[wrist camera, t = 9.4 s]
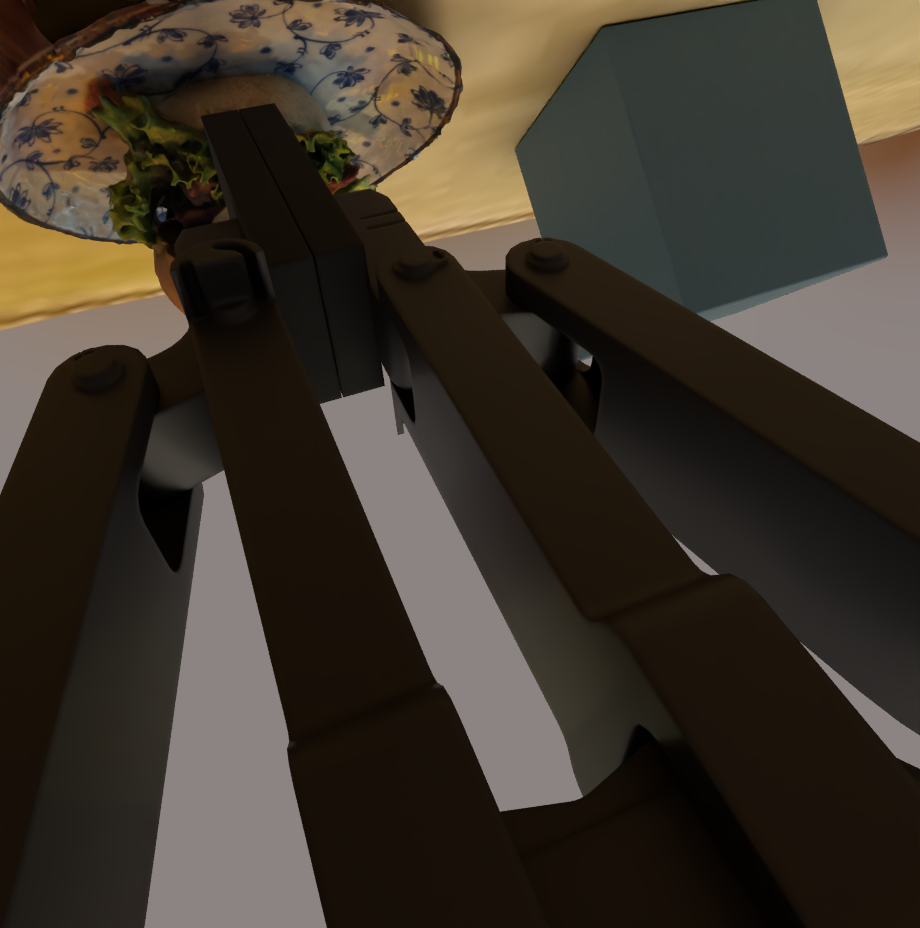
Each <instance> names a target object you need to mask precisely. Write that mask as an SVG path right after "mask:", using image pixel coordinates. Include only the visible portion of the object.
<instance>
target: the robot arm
mask: <svg viewBox="0 0 920 928" xmlns="http://www.w3.org/2000/svg"><path fill="white" fill-rule="evenodd" d="M239 113H240V114H239ZM201 120H202V123H203V127H204V130H205V134H206V137H207V141H208V144H209V148H210V151H211V155H212V158H213V162H214V165H215V169H216V172H217V176H218V179H219V183H220V186H221V190H222V193H223V197H224V200H225V203H226V207H227V210H228V214H229V217H230V220H226V221H222V222H217V223H212V224H207V225H202V226H198V227H193V228H188V229H183V230H182V231H181V233H180V235H179V237H178V238H177V240H176V242H175V244H174V248H175V252H176V256H177V257H176V258H175V259H174V260H173V261H172V262H171V266H170V275H171V277H172V280H173V283H174V285H175V288H176V291H177V294H178V296H179V299H180V302H181V304H182V307H183V310H184V312H185V315H186V317H187V320H188V323H189V329H188V331H187V333H186V334H185V335H184V336H183V337H182V338H181V339H180V340H179V341H178V342H177V343H175V344H174V345H173V346H171V347H170V348H168V349H166V350H164V351H162V352H161V353H159V354H157V355H155V356H152V357H150V358H148V359H147V358H146V357H145V356H144V355H143V354H142V353H141V352H140V351H139V350H138V349H135V348H132V347H129V346H125V345H105V346H101V347H96V348H90V349H87V350H84V351H82V352H81V353H80V352H79V353H77V354H75V355H73V356H71V357H70V358H68V359H67V360H66V361H64V362H63V363H62V364H60V365H59V366H58V367H56V368H55V370H54V371H53V373H52V374H51V375H50V377H49V378H48V380H47V382H46V384H45V387H44V389H43V392H42V394H41V397H40V399H39V402H38V404H37V406H36V409H35V411H34V414H33V416H32V419H31V421H30V424H29V426H28V428H27V431H26V433H25V436H24V438H23V441H22V443H21V446H20V448H19V450H18V453H17V455H16V458H15V460H14V463H13V465H12V467H11V470H10V472H9V475H8V477H7V480H6V482H5V485H4V487H3V489H2V492H1V494H0V928H144V926H145V919H146V911H147V904H148V897H149V890H150V882H151V875H152V868H153V860H154V853H155V846H156V839H157V831H158V824H159V817H160V809H161V803H162V795H163V788H164V781H165V774H166V766H167V759H168V752H169V745H170V738H171V730H172V723H173V716H174V708H175V701H176V694H177V686H178V679H179V672H180V665H181V658H182V650H183V643H184V636H185V628H186V621H187V614H188V606H189V600H190V592H191V585H192V578H193V571H194V563H195V556H196V549H197V541H198V534H199V527H200V519H201V513H202V505H203V498H204V492H203V485H202V482H203V481H205V480H207V479H208V478H210V477H212V476H214V475H216V474H217V473H219V472H221V471H223V470H224V471H225V475H226V479H227V483H228V487H229V491H230V495H231V499H232V504H233V507H234V512H235V515H236V520H237V524H238V528H239V532H240V536H241V540H242V544H243V548H244V553H245V557H246V560H247V565H248V569H249V573H250V577H251V581H252V585H253V589H254V593H255V597H256V602H257V606H258V610H259V614H260V618H261V622H262V626H263V630H264V634H265V638H266V643H267V647H268V651H269V655H270V659H271V663H272V667H273V671H274V675H275V679H276V683H277V687H278V692H279V695H280V700H281V704H282V708H283V712H284V716H285V720H286V725H287V730H288V735H289V744H288V748H287V752H288V760H289V767H290V772H291V777H292V781H293V786H294V791H295V795H296V799H297V803H298V808H299V812H300V816H301V820H302V824H303V829H304V833H305V837H306V841H307V846H308V850H309V854H310V858H311V863H312V866H313V871H314V875H315V879H316V884H317V888H318V892H319V896H320V901H321V905H322V909H323V913H324V917H325V921H326V925H327V928H920V769H919V768H917V767H914V766H912V765H910V764H908V763H906V762H904V761H902V760H900V759H898V758H896V757H895V756H894V754H893V753H892V752H891V751H890V750H889V748H888V747H887V746H886V745H885V744H884V742H883V741H882V740H881V739H880V738H879V736H878V735H877V734H876V733H875V732H874V731H873V729H872V728H871V727H870V726H869V724H868V723H867V722H866V721H865V720H864V718H863V717H862V716H861V715H860V714H859V713H858V711H857V710H856V709H855V708H854V706H853V705H852V704H851V703H850V702H849V700H848V699H847V698H846V697H845V696H844V694H843V693H842V692H841V691H840V690H839V689H838V687H837V686H836V685H835V684H834V682H833V681H832V680H831V679H830V678H829V677H828V675H827V674H826V673H825V672H824V670H823V669H822V668H821V667H820V666H819V664H818V663H817V662H816V661H815V660H814V658H813V657H812V656H811V655H810V654H809V652H808V651H807V650H806V649H805V648H804V646H803V645H805V646H806V647H807V648H808V649H809V650H811V651H812V652H813V653H814V654H816V655H817V656H818V657H819V658H820V659H821V660H823V661H824V662H825V663H826V664H827V665H829V666H830V667H831V668H832V669H833V670H835V671H836V672H837V673H838V674H839V675H841V676H842V677H843V678H844V679H845V680H847V681H848V682H849V683H850V684H851V685H853V686H854V687H855V688H856V689H858V690H859V691H860V692H861V693H862V694H864V695H865V696H866V697H868V698H869V699H870V700H872V701H873V702H874V703H875V704H877V705H878V706H879V707H881V708H882V709H883V710H885V711H886V712H887V713H889V714H890V715H891V716H892V717H894V718H895V719H896V720H898V721H899V722H900V723H902V724H903V725H905V726H906V727H908V728H909V729H911V730H912V731H914V732H916V733H917V734H919V735H920V443H919V442H918V441H916V440H914V439H912V438H911V437H909V436H907V435H905V434H904V433H902V432H900V431H899V430H897V429H895V428H893V427H891V426H890V425H888V424H886V423H885V422H883V421H881V420H880V419H878V418H876V417H874V416H873V415H871V414H869V413H867V412H865V411H864V410H862V409H860V408H859V407H857V406H855V405H853V404H851V403H850V402H848V401H847V400H844V399H843V398H841V397H840V396H838V395H836V394H834V393H833V392H831V391H829V390H827V389H825V388H824V387H822V386H821V385H819V384H817V383H815V382H814V381H812V380H810V379H808V378H806V377H805V376H803V375H801V374H800V373H798V372H796V371H795V370H793V369H791V368H789V367H787V366H786V365H784V364H782V363H781V362H779V361H777V360H775V359H774V358H772V357H770V356H768V355H767V354H765V353H763V352H762V351H760V350H758V349H756V348H755V347H753V346H751V345H749V344H747V343H746V342H744V341H743V340H741V339H739V338H737V337H736V336H734V335H732V334H730V333H729V332H727V331H725V330H724V329H722V328H720V327H718V326H717V325H715V324H713V323H711V322H710V321H708V320H706V319H704V318H703V317H701V316H699V315H698V314H696V313H694V312H692V311H691V310H689V309H687V308H685V307H684V306H682V305H680V304H678V303H677V302H675V301H673V300H672V299H670V298H668V297H666V296H665V295H663V294H661V293H659V292H658V291H656V290H654V289H652V288H651V287H649V286H647V285H646V284H644V283H642V282H640V281H639V280H637V279H635V278H633V277H632V276H630V275H628V274H626V273H625V272H623V271H621V270H620V269H618V268H616V267H614V266H613V265H611V264H609V263H607V262H606V261H604V260H602V259H600V258H599V257H597V256H595V255H594V254H592V253H590V252H588V251H587V250H585V249H583V248H581V247H580V246H578V245H575V244H573V243H570V242H568V241H565V240H559V239H554V238H546V237H543V239H541V238H535V239H532V240H529V241H525V242H521V243H519V244H518V245H516V246H514V247H513V248H511V249H510V251H509V252H508V254H507V255H506V269H505V270H489V271H467V270H464V269H463V267H462V266H461V265H460V264H459V263H458V261H457V260H456V259H455V257H454V256H452V255H451V254H450V253H448V252H447V251H446V250H443V249H439V248H436V247H433V246H425V245H424V244H423V243H422V241H421V240H420V239H419V237H418V236H417V235H416V233H415V232H414V231H413V229H412V228H411V227H410V225H409V224H408V223H407V222H405V219H404V217H403V216H402V215H401V213H400V212H398V210H397V208H396V207H395V205H394V204H393V203H392V202H391V200H390V199H389V198H388V197H387V196H385V195H383V194H381V193H379V192H376V191H374V190H372V189H370V188H369V189H364V190H359V191H354V192H350V193H345V194H340V195H335V196H333V195H332V193H331V191H330V190H329V188H328V187H327V185H326V183H325V182H324V180H323V179H322V177H321V176H320V174H319V172H318V171H317V169H316V168H315V166H314V164H313V163H312V161H311V160H310V158H309V157H308V155H307V153H306V152H305V150H304V149H303V147H302V146H301V144H300V142H299V141H298V139H297V138H296V136H295V134H294V133H293V131H292V130H291V128H290V127H289V125H288V123H287V122H286V120H285V119H284V117H283V116H282V114H281V112H280V111H279V109H278V108H277V106H276V104H275V103H272V104H266V105H260V106H254V107H249V108H243V109H239V112H238V110H231V111H225V112H220V113H214V114H208V115H202V116H201ZM579 346H581V347H582V348H583V349H585V350H586V351H588V352H589V353H590V354H591V355H592V356H593V357H592V364H591V367H590V366H588V365H586V364H584V363H583V362H581V361H580V360H579V359H578V356H579ZM381 363H382V364H383V366H384V368H385V370H386V372H387V374H388V376H389V377H390V382H391V390H392V397H393V404H394V411H395V419H396V426H397V432H398V435H399V434H403V433H404V429H403V423H404V424H405V426H406V428H407V429H408V431H409V433H410V435H411V437H412V439H413V441H414V443H415V445H416V447H417V449H418V451H419V453H420V455H421V457H422V459H423V461H424V463H425V465H426V467H427V469H428V471H429V472H430V474H431V476H432V478H433V480H434V482H435V484H436V486H437V488H438V490H439V492H440V494H441V496H442V498H443V500H444V502H445V504H446V506H447V508H448V510H449V511H450V513H451V515H452V517H453V519H454V521H455V523H456V525H457V527H458V529H459V531H460V533H461V535H462V537H463V539H464V541H465V543H466V545H467V547H468V549H469V551H470V553H471V554H472V556H473V558H474V560H475V562H476V564H477V566H478V568H479V570H480V572H481V574H482V576H483V578H484V580H485V582H486V584H487V586H488V588H489V590H490V592H491V593H492V595H493V597H494V599H495V601H496V603H497V605H498V607H499V609H500V611H501V613H502V615H503V617H504V619H505V621H506V623H507V625H508V627H509V628H510V630H511V632H512V634H513V636H514V638H515V640H516V642H517V644H518V646H519V648H520V650H521V652H522V654H523V656H524V658H525V660H526V662H527V664H528V666H529V668H530V670H531V672H532V674H533V675H534V677H535V679H536V681H537V683H538V685H539V687H540V689H541V691H542V693H543V695H544V697H545V699H546V701H547V703H548V705H549V706H550V709H551V710H552V712H553V714H554V716H555V718H556V720H557V722H558V724H559V726H560V729H561V731H562V733H563V735H564V738H565V741H566V744H567V746H568V751H569V755H570V760H571V764H572V768H573V772H574V774H575V777H576V780H577V783H578V786H579V788H580V791H581V793H582V795H583V797H582V798H580V799H578V800H575V801H571V802H565V803H557V804H550V805H543V806H536V807H529V808H522V809H516V810H509V811H502V812H500V811H499V809H498V806H497V804H496V801H495V799H494V797H493V794H492V792H491V790H490V787H489V785H488V783H487V780H486V778H485V776H484V773H483V771H482V769H481V766H480V764H479V762H478V759H477V757H476V755H475V752H474V750H473V747H472V745H471V743H470V740H469V738H468V736H467V734H466V731H465V729H464V726H463V724H462V722H461V720H460V717H459V715H458V713H457V711H456V709H455V706H454V704H453V702H452V700H451V698H450V696H449V695H448V693H447V691H446V690H445V688H444V686H442V685H440V684H439V683H437V682H436V680H435V678H434V676H433V675H432V672H431V670H430V668H429V665H428V663H427V661H426V658H425V656H424V654H423V651H422V649H421V646H420V644H419V642H418V639H417V637H416V635H415V632H414V630H413V627H412V625H411V622H410V620H409V618H408V615H407V613H406V610H405V608H404V606H403V603H402V601H401V598H400V596H399V594H398V591H397V589H396V586H395V584H394V582H393V579H392V577H391V574H390V572H389V570H388V567H387V565H386V562H385V560H384V558H383V555H382V553H381V550H380V548H379V545H378V543H377V541H376V538H375V536H374V533H373V531H372V529H371V526H370V524H369V522H368V519H367V517H366V514H365V512H364V509H363V507H362V505H361V502H360V500H359V498H358V495H357V493H356V490H355V488H354V486H353V483H352V481H351V478H350V476H349V474H348V471H347V469H346V466H345V464H344V461H343V459H342V457H341V455H340V452H339V449H338V447H337V445H336V442H335V440H334V438H333V435H332V433H331V430H330V428H329V425H328V423H327V421H326V418H325V416H324V414H323V411H322V409H321V406H320V404H321V403H325V402H328V401H331V400H335V399H339V398H342V397H341V393H342V395H343V397H346V396H350V395H354V394H357V393H361V392H364V391H368V390H371V389H375V388H378V387H382V386H385V385H384V378H383V371H382V364H381ZM340 391H341V392H340ZM671 534H672V535H673V536H674V537H675V538H676V539H678V540H679V541H680V542H681V543H682V544H684V545H685V546H686V547H687V548H688V549H690V550H691V551H692V552H693V553H694V554H696V555H697V556H698V557H699V558H701V559H702V560H703V561H704V562H705V563H706V564H708V565H709V566H710V567H711V568H712V569H714V570H715V571H716V572H717V573H718V574H720V575H709V574H707V573H705V572H703V571H701V570H700V569H699V568H698V567H697V566H696V565H695V564H694V563H693V562H692V560H691V559H690V558H689V557H688V555H687V554H686V553H685V551H684V550H683V549H682V548H681V547H680V545H679V544H678V542H677V541H676V540H675V538H674V537H673V536H672V535H671ZM799 641H800V642H801V643H802V644H803V645H802V644H801V643H800V642H799Z"/></svg>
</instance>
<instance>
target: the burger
mask: <svg viewBox="0 0 920 928" xmlns="http://www.w3.org/2000/svg"><path fill="white" fill-rule="evenodd" d="M36 7H37V6H36V5H35V4H34V2H33V1H32V0H0V203H2V204H3V206H5V207H6V208H7V210H9V211H11V212H12V213H14V214H15V215H16V216H17V217H18V218H20V219H22V220H24V221H26V222H28V223H31V224H34V225H38V226H40V227H43V228H46V229H51V230H56V231H58V232H62V233H64V234H67V235H72V236H75V237H78V238H81V239H90V240H94V241H102V242H115V243H117V244H122V243H123V244H133V243H143V244H145V245H146V246H147V247H148V248H150V249H154V264H155V273H156V275H157V277H158V279H159V281H160V285H161V287H162V289H163V291H164V292H165V294H166V295H167V296H168V297H169V299H170V300H171V301H172V303H173V304H174V305H175V306H176V307H177V308H179V310H180V311H181V312H183V313H184V314H185V312H184V310H183V307H182V304H181V302H180V299H179V296H178V294H177V291H176V288H175V285H174V283H173V280H172V277H171V275H170V266H171V262H172V261H173V260H174V259H175V258H176V257H177V256H176V252H175V248H174V244H175V242H176V240H177V238H178V237H179V235H180V233H181V231H182V230H183V229H188V228H193V227H198V226H202V225H207V224H212V223H217V222H222V221H226V220H230V217H229V214H228V210H227V207H226V203H225V200H224V197H223V193H222V190H221V186H220V183H219V179H218V176H217V172H216V169H215V165H214V162H213V158H212V155H211V151H210V148H209V144H208V141H207V137H206V134H205V130H204V127H203V123H202V120H201V116H202V115H208V114H214V113H220V112H225V111H231V110H238V112H239V109H243V108H249V107H254V106H260V105H266V104H272V103H275V104H276V106H277V108H278V109H279V111H280V112H281V114H282V116H283V117H284V119H285V120H286V122H287V123H288V125H289V127H290V128H291V130H292V131H293V133H294V134H295V136H296V138H297V139H298V141H299V142H300V144H301V146H302V147H303V149H304V150H305V152H306V153H307V155H308V157H309V158H310V160H311V161H312V163H313V164H314V166H315V168H316V169H317V171H318V172H319V174H320V176H321V177H322V179H323V180H324V182H325V183H326V185H327V187H328V188H329V190H330V191H331V193H332V195H333V196H335V195H340V194H345V193H350V192H354V191H359V190H364V189H369V188H370V189H372V190H374V191H376V187H378V186H377V184H379V183H380V182H382V181H383V180H384V179H386V178H387V177H388V176H390V175H391V174H392V173H393V172H394V171H396V170H398V169H400V168H402V167H403V166H405V165H406V164H408V162H410V161H411V160H414V159H415V158H416V157H418V154H419V153H420V152H421V151H422V150H423V149H424V148H425V147H428V146H429V145H430V144H431V143H432V142H433V141H434V140H435V139H436V138H438V135H441V129H442V127H444V125H445V124H447V123H449V122H450V120H451V117H452V114H453V112H454V110H455V108H456V107H457V105H458V101H459V96H460V93H461V92H462V91H463V84H462V79H461V69H462V66H461V61H460V59H459V57H458V56H457V54H456V53H455V51H454V50H453V48H452V47H451V46H450V45H449V44H448V43H447V42H446V41H445V39H444V38H443V37H442V36H441V35H440V34H438V33H436V32H434V31H432V30H429V29H426V28H424V27H422V26H420V25H418V24H417V23H415V22H414V21H412V20H410V19H408V18H407V17H405V16H403V15H402V14H400V13H399V12H397V11H395V10H394V9H392V8H391V7H389V6H387V5H385V4H383V3H381V2H378V1H374V0H177V1H172V2H169V1H167V0H146V1H144V2H142V3H140V4H136V5H133V6H129V7H126V8H122V9H119V10H116V11H112V12H110V13H109V14H107V15H106V16H104V17H103V18H100V19H98V20H97V21H96V22H94V23H93V24H91V25H90V26H88V27H86V28H85V29H83V30H81V31H78V32H76V33H74V34H71V35H68V36H66V37H64V38H60V39H59V40H57V42H55V43H54V44H52V43H50V41H48V40H47V39H46V38H45V37H44V36H43V35H42V34H41V33H40V31H39V30H38V28H37V27H36V25H35V21H34V13H35V10H36ZM239 114H240V113H239Z"/></svg>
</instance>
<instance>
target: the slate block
mask: <svg viewBox="0 0 920 928" xmlns="http://www.w3.org/2000/svg"><path fill="white" fill-rule="evenodd" d="M515 152H516V155H517V159H518V162H519V165H520V168H521V172H522V175H523V178H524V181H525V185H526V188H527V191H528V195H529V198H530V201H531V204H532V208H533V211H534V214H535V217H536V220H537V224H538V227H539V230H540V234H541V237H542V239H543V237H546V238H554V239H559V240H565V241H568V242H570V243H573V244H575V245H578V246H580V247H581V248H583V249H585V250H587V251H588V252H590V253H592V254H594V255H595V256H597V257H599V258H600V259H602V260H604V261H606V262H607V263H609V264H611V265H613V266H614V267H616V268H618V269H620V270H621V271H623V272H625V273H626V274H628V275H630V276H632V277H633V278H635V279H637V280H639V281H640V282H642V283H644V284H646V285H647V286H649V287H651V288H652V289H654V290H656V291H658V292H659V293H661V294H663V295H665V296H666V297H668V298H670V299H672V300H673V301H675V302H677V303H678V304H680V305H682V306H684V307H685V308H687V309H689V310H691V311H692V312H694V313H696V314H698V315H699V316H701V317H703V318H704V319H706V320H708V321H712V320H715V319H718V318H721V317H725V316H728V315H732V314H735V313H738V312H740V311H743V310H746V309H749V308H751V307H754V306H756V305H759V304H762V303H765V302H768V301H770V300H773V299H775V298H778V297H781V296H784V295H786V294H789V293H792V292H795V291H797V290H800V289H803V288H805V287H808V286H811V285H813V284H816V283H819V282H822V281H824V280H827V279H830V278H832V277H835V276H838V275H840V274H843V273H846V272H849V271H851V270H854V269H857V268H859V267H862V266H865V265H867V264H870V263H873V262H875V261H878V260H881V259H884V258H886V257H887V256H888V253H887V249H886V246H885V242H884V239H883V235H882V232H881V228H880V224H879V221H878V217H877V214H876V210H875V206H874V203H873V200H872V196H871V192H870V189H869V185H868V181H867V178H866V174H865V171H864V167H863V164H862V160H861V157H860V153H859V149H858V146H857V142H856V138H855V135H854V131H853V128H852V124H851V121H850V117H849V113H848V110H847V106H846V103H845V99H844V95H843V92H842V88H841V85H840V81H839V78H838V74H837V70H836V67H835V63H834V60H833V56H832V53H831V49H830V45H829V42H828V38H827V35H826V31H825V27H824V24H823V20H822V17H821V13H820V10H819V6H818V2H817V0H757V1H751V2H746V3H740V4H734V5H728V6H723V7H717V8H711V9H705V10H700V11H694V12H688V13H682V14H677V15H671V16H665V17H659V18H654V19H648V20H642V21H636V22H631V23H625V24H619V25H613V26H608V27H603V28H602V29H601V30H600V32H599V33H598V34H597V36H596V37H595V39H594V40H593V41H592V43H591V44H590V46H589V47H588V48H587V50H586V51H585V53H584V54H583V55H582V57H581V58H580V60H579V61H578V62H577V64H576V65H575V67H574V68H573V69H572V71H571V72H570V74H569V75H568V76H567V78H566V79H565V81H564V82H563V83H562V85H561V86H560V88H559V89H558V90H557V92H556V93H555V95H554V96H553V97H552V99H551V100H550V101H549V103H548V104H547V106H546V107H545V108H544V110H543V111H542V113H541V114H540V115H539V117H538V118H537V120H536V121H535V122H534V124H533V125H532V127H531V128H530V129H529V131H528V132H527V134H526V135H525V136H524V138H523V139H522V141H521V142H520V143H519V145H518V146H517V148H516V149H515ZM591 357H593V356H592V355H591V354H590V353H589V352H588V351H586V350H585V349H583V348H582V347H581V346H579V356H578V358H579V360H581V361H582V360H585V359H588V358H591Z"/></svg>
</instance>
